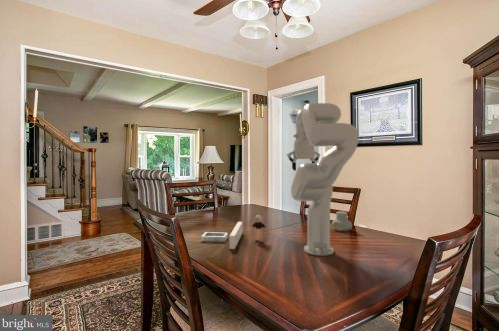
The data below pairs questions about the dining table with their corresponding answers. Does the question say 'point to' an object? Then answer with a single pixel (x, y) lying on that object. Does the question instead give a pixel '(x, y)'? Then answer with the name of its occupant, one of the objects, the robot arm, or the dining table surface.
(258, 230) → the grandmother figurine
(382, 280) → the dining table surface
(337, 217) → the air freshener
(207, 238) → the grey hollow rectangular frame
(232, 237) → the white long flat block
